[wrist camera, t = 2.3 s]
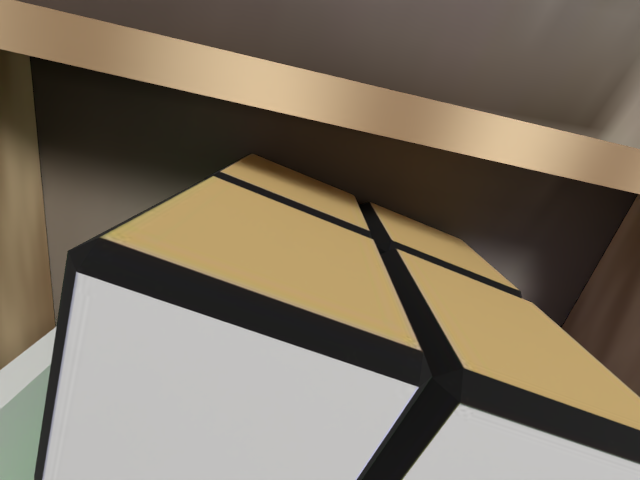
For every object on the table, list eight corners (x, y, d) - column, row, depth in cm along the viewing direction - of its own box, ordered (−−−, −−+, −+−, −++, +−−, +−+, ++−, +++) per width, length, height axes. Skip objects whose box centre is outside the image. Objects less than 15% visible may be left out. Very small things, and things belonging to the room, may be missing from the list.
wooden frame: (41, 387, 17) (-64, 489, 12) (-5, 14, 11) (-241, -61, 6) (503, 459, 19) (563, 571, 14) (676, 173, 13) (875, 205, 8)
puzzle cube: (367, 399, 17) (420, 725, 8) (185, 341, 16) (-3, 651, 7) (465, 239, 14) (746, 478, 5) (246, 149, 13) (44, 237, 3)
